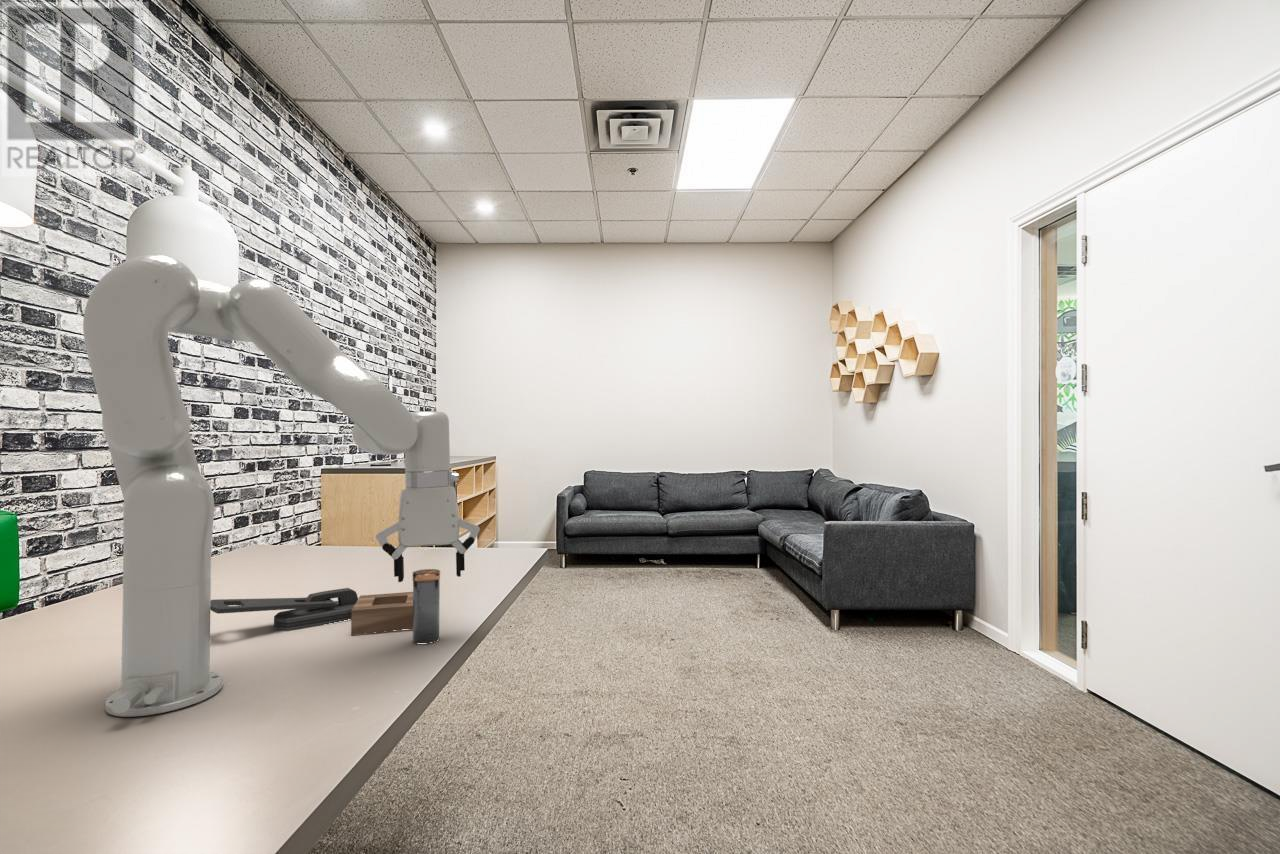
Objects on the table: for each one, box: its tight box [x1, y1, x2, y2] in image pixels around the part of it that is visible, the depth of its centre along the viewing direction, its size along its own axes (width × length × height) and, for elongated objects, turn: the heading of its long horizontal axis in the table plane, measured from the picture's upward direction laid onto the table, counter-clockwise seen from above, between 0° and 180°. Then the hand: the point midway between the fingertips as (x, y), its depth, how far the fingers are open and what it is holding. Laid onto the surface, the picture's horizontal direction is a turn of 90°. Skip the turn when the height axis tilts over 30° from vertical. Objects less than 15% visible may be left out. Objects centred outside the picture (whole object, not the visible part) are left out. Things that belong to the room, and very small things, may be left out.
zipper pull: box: [210, 587, 359, 632], centre depth 114 cm, size 9×7×25 cm
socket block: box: [350, 591, 413, 636], centre depth 115 cm, size 11×12×4 cm
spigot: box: [412, 568, 441, 644], centre depth 105 cm, size 5×5×12 cm
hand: (430, 577), depth 106 cm, fingers open, 9 cm apart
